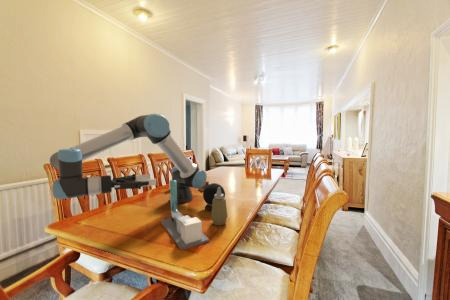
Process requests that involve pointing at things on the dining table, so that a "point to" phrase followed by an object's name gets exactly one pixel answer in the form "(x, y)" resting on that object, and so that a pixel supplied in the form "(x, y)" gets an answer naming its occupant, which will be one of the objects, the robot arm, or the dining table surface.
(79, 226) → the dining table surface
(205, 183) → the bell
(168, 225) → the socket
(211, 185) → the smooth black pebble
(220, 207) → the squeeze bottle
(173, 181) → the tube
